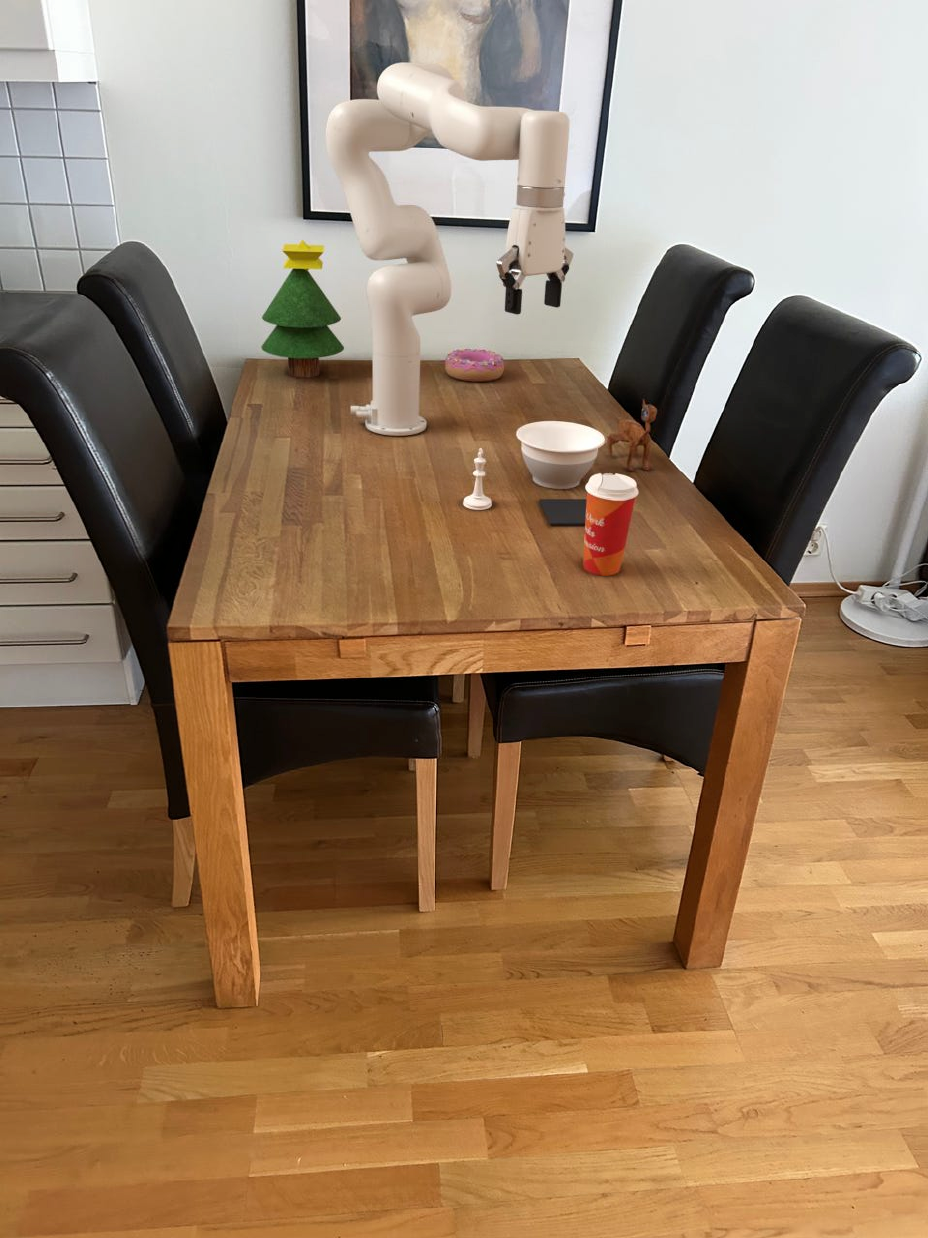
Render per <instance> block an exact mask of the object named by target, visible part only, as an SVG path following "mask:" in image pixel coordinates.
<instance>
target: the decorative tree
mask: <svg viewBox="0 0 928 1238" xmlns="http://www.w3.org/2000/svg"><path fill="white" fill-rule="evenodd" d="M281 251H282V252H283V254H285V255H286V257H287V258H286V260H285V261H284V265H283V269H291V271H290V272H289V274H288V275H287V276H286V279H285V280H284V282H283V283H282V285H281V286H280V288H279V289H278V291H277V293H276V294H275V296H274V298H273V299H272V300H271V302H270V304H269V305H268V307H267V308H266V310H265V311H264V313H263V314H262V316H261V319H262V320H263V321H264V322H266V323H268V324H272V325H274V326H275V327H274V328H273V329H272V331H271V332H270V334H269V335H268V336H267V337H266V339H265V341H264V342H263V343H262V345H261V350H262V351H263V352H265V353H267V354H269V355H272V356H276V357H280V358H281V357H282V358H287V365H288V375H289V376H291V377H294V378H314V377H317V376H319V375H320V358H326V357H331V356H335V355H338V354H340V353H342V352H343V351H344V349H345V346H344V345H343V344H342V342H341V341H340V340H339V338H338V337H337V336H336V335H335V333H334V332H333V331H332V329H330V326H331V325H334V324H337V323H339V322H340V321H341V320H342V317H341V316H340V314H339V312H338V311H337V310H336V308H335V307H334V305H333V304H332V303H331V301H330V300H329V299H328V297H327V296H326V294H325V293H324V291H323V290H322V289H321V287H320V285H319V284H318V283H317V281H316V280H315V278H314V277H313V276H312V274H311V273H310V271H309V270H322V269H323V263H324V262H323V260H322V259H320V257H321V256H322V254H324V252H325V245H323V244H322V245H321V244H307V243H306V242H305V241H304V239H302V240H301V241H300V242H299V243H298V244H293V243H292V244H291V243H289V244H288V243H285V244H284V245H283V247H282V250H281Z"/></svg>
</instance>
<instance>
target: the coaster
mask: <svg viewBox="0 0 928 1238" xmlns="http://www.w3.org/2000/svg"><path fill="white" fill-rule="evenodd" d="M586 503H587V498H540V499H539V504H540V507H541V508H542V511H543V513H544V516H545V517H546V519H547V522H548V524H549V526H550V527H585V520H586Z"/></svg>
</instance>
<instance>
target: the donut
mask: <svg viewBox="0 0 928 1238" xmlns="http://www.w3.org/2000/svg"><path fill="white" fill-rule="evenodd" d="M444 362H445V363H444V367H445V368H444V369H445V372H446V374H447V375H448V376H450V377H451V378H453V379H456V380H458V381H459V380H460V381H464V382H473V383H475V382H476V383H482V382H483V383H485V382H491V381H494V380H497V379H499V378H500V377H502V375H503V373H504V369H505V363H504V357H502V355H500V354H499V353H497V352H495V351H491V350H485V349H477V348H474V349H471V348H465V349H456V350H453V351H451V352H449V353H447V354H446V358H445V361H444Z"/></svg>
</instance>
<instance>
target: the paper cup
mask: <svg viewBox="0 0 928 1238" xmlns="http://www.w3.org/2000/svg"><path fill="white" fill-rule="evenodd" d="M637 486H638V484H637V481H636V480H635V479H634V478H632V477H630V476H628V475H626V474H621V473H616V472H615V474H613V472H612V473H611V472H609V473H608V472H607V473H603V474H602V473H601V472H599V473H595V474H592V475H591V476H590V478H589V479H588V482H587V483H586V484H585V490H586V499H587V503H586V520H585V526H584V537H583V539H584V540H583V556H582V557H583V559H582V560H583V562H582V563H583V565H582V566H583V569H584V570H585V571H586V572H588V573H589V574H593V575H595V576H601V577H603V576H604V577H610V576H614V575H617V574H618V573H619V572H620V570H621V567H622V562H623V558H624V554H625V548H626V544H627V540H628V535H629V530H630V526H631V525H630V524H631V521H632V520H631V519H632V517H633V511H634V506H635V501H636V498H637V496H638V495H639V489H638V487H637Z"/></svg>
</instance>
